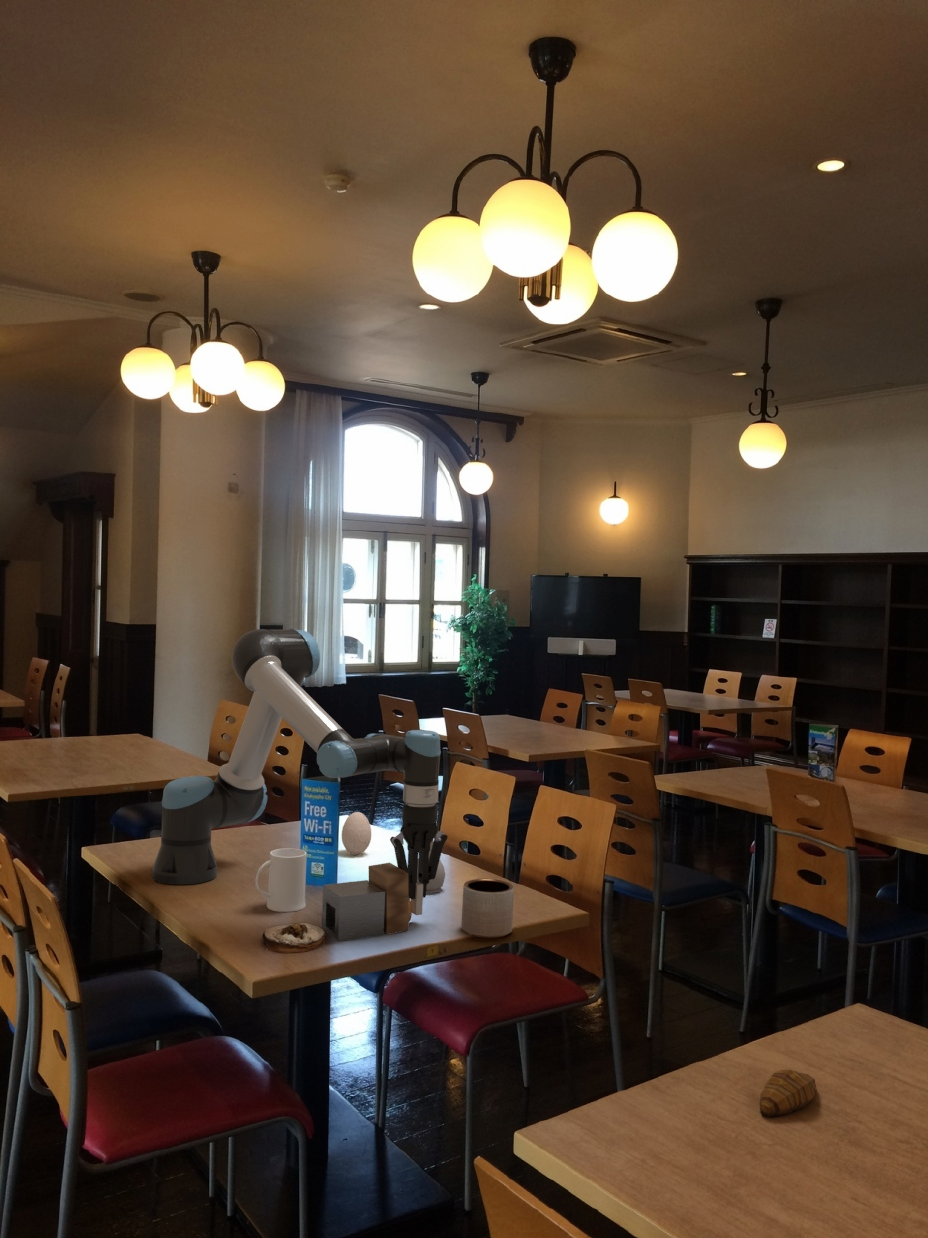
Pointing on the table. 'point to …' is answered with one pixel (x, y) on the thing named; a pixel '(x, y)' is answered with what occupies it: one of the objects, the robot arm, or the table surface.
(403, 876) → the spacer
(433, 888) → the potion bottle
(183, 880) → the robot arm
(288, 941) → the cream tart
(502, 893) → the planter
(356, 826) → the egg
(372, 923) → the block
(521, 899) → the table surface
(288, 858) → the mug
